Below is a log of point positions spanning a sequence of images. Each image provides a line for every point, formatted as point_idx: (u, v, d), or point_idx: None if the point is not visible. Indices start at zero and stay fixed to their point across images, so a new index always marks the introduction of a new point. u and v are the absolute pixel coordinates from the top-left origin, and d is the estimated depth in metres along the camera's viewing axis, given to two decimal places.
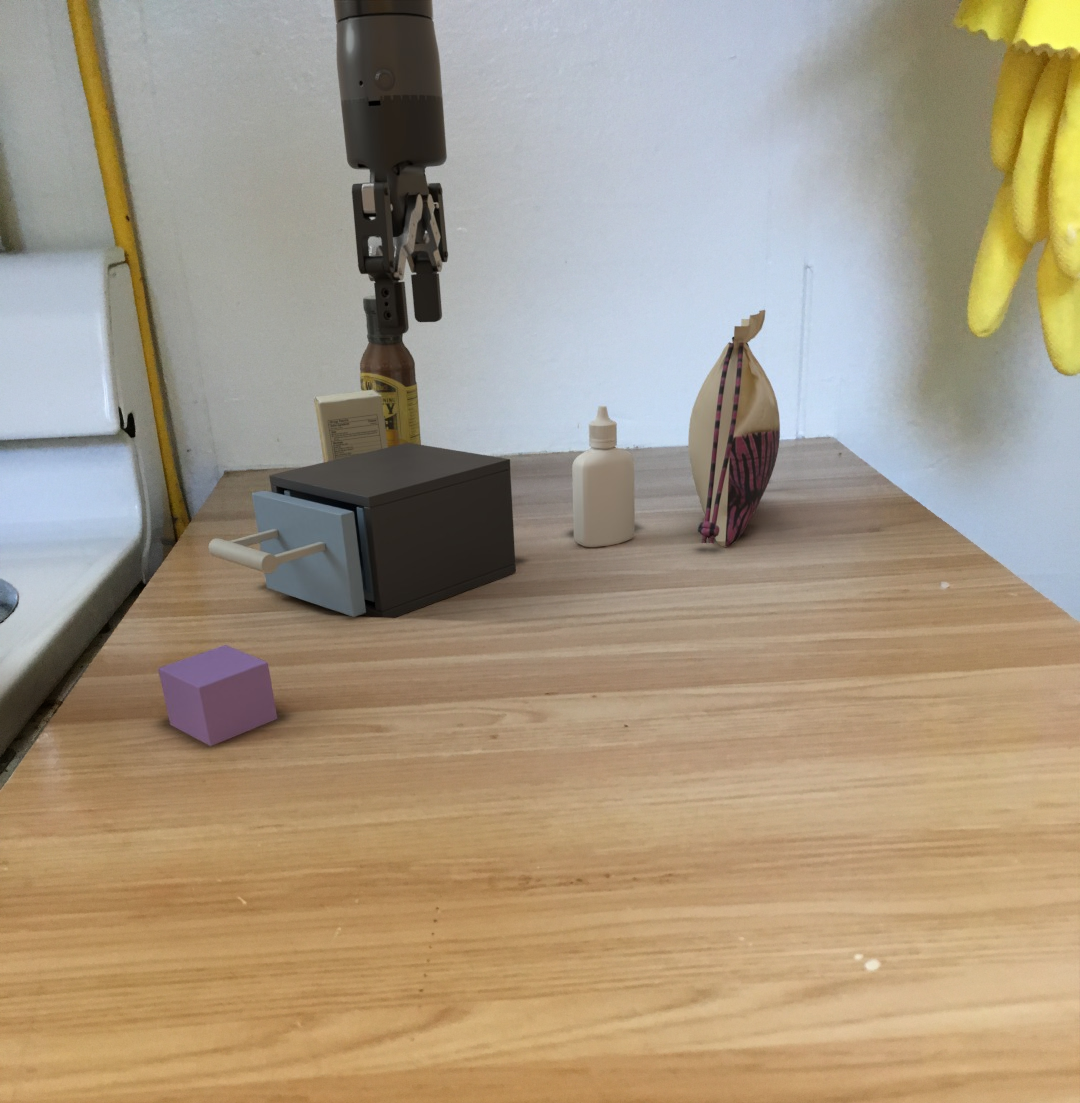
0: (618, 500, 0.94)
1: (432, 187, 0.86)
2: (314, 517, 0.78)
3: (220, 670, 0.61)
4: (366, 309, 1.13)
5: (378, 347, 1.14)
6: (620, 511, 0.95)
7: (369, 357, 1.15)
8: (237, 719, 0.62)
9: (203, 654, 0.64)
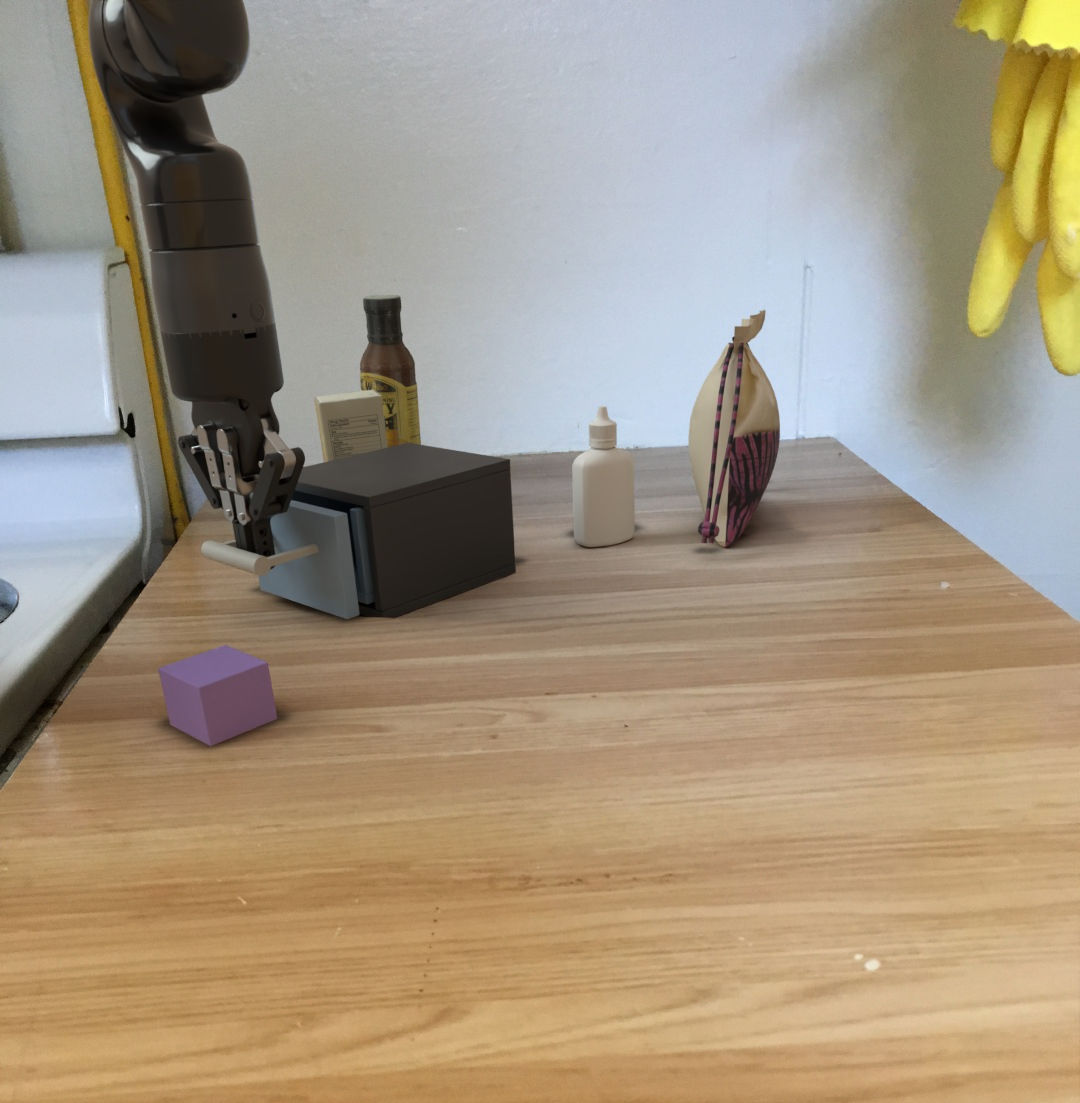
0: (618, 500, 0.94)
1: None
2: (307, 519, 0.78)
3: (220, 670, 0.61)
4: (366, 309, 1.13)
5: (378, 347, 1.14)
6: (620, 511, 0.95)
7: (369, 357, 1.15)
8: (237, 719, 0.62)
9: (203, 654, 0.64)
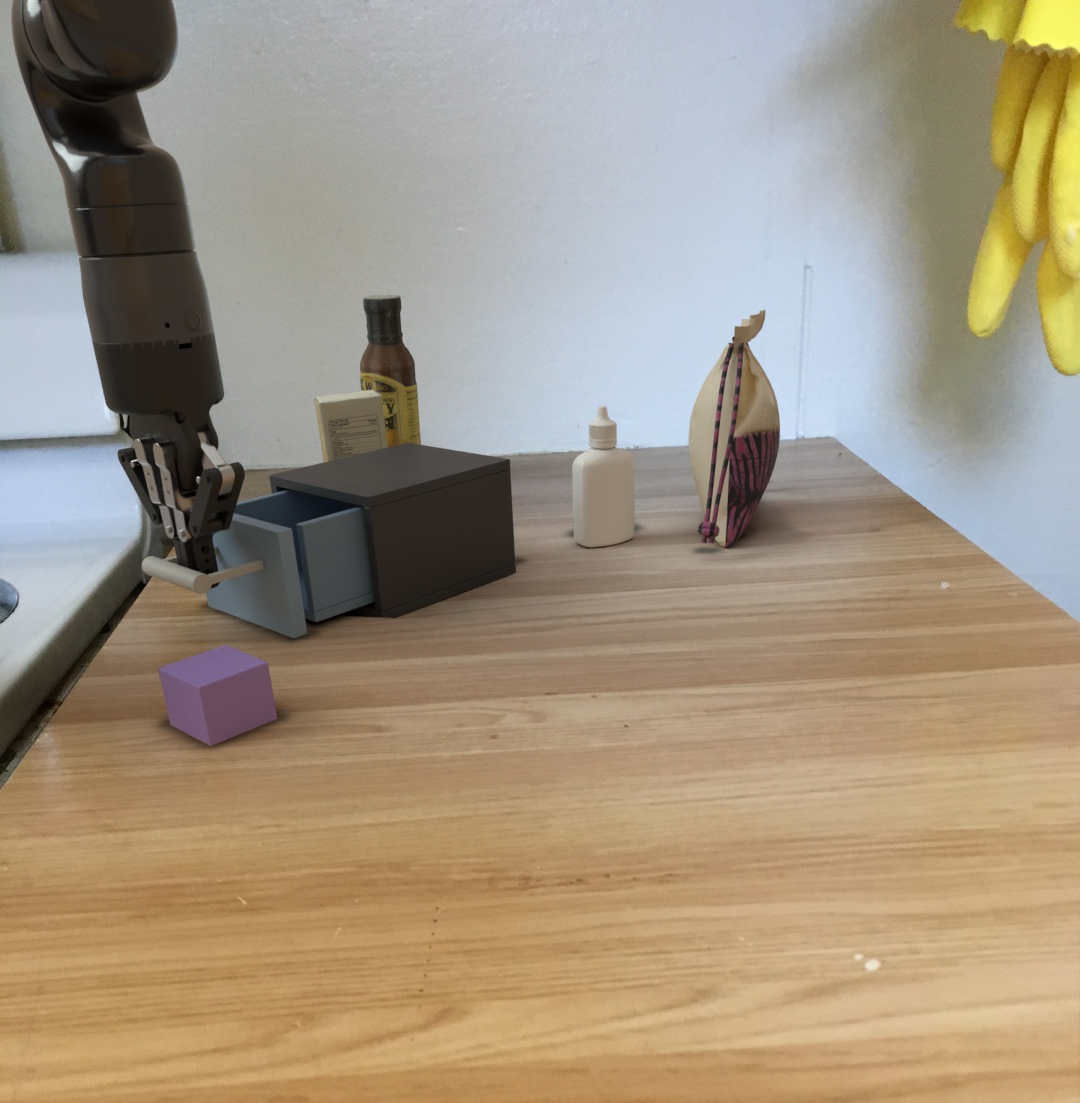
0: (618, 500, 0.94)
1: None
2: (251, 534, 0.75)
3: (220, 670, 0.61)
4: (366, 309, 1.13)
5: (378, 347, 1.14)
6: (620, 511, 0.95)
7: (369, 357, 1.15)
8: (237, 719, 0.62)
9: (203, 654, 0.64)
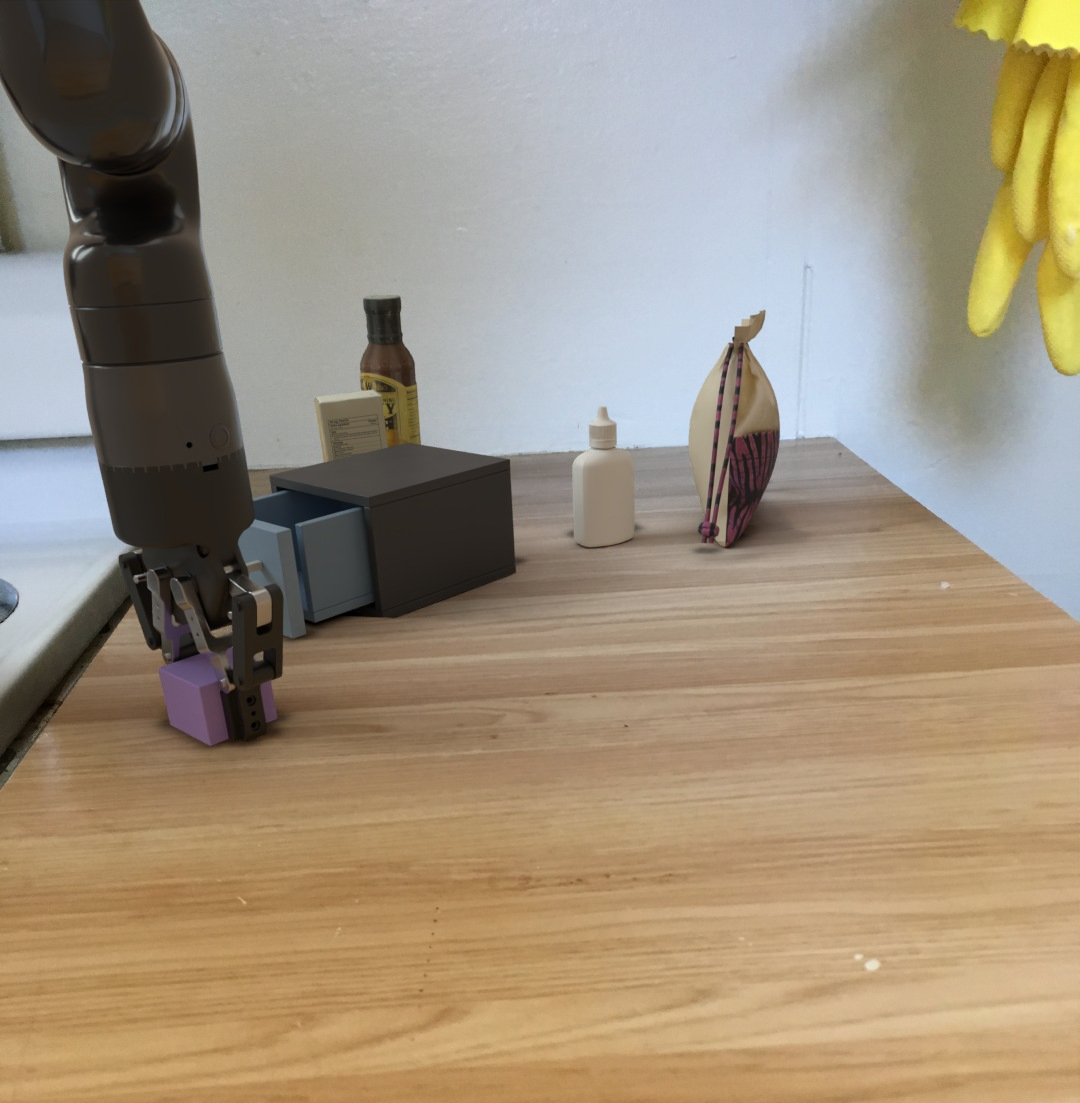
0: (618, 500, 0.94)
1: None
2: (251, 535, 0.75)
3: None
4: (366, 309, 1.13)
5: (378, 347, 1.14)
6: (620, 511, 0.95)
7: (369, 357, 1.15)
8: None
9: None
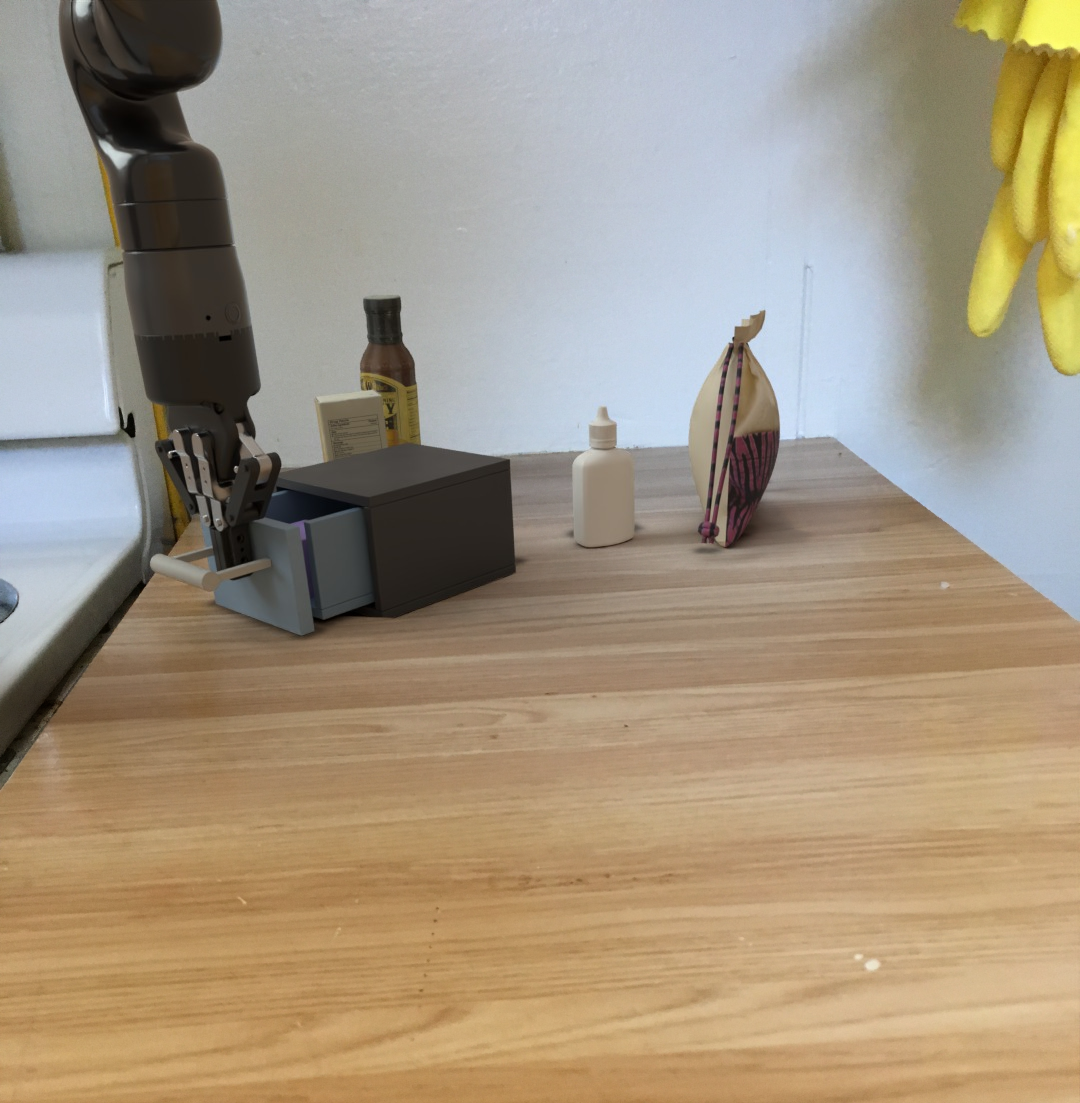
0: (618, 500, 0.94)
1: None
2: (259, 532, 0.75)
3: None
4: (366, 309, 1.13)
5: (378, 347, 1.14)
6: (620, 511, 0.95)
7: (369, 357, 1.15)
8: None
9: None
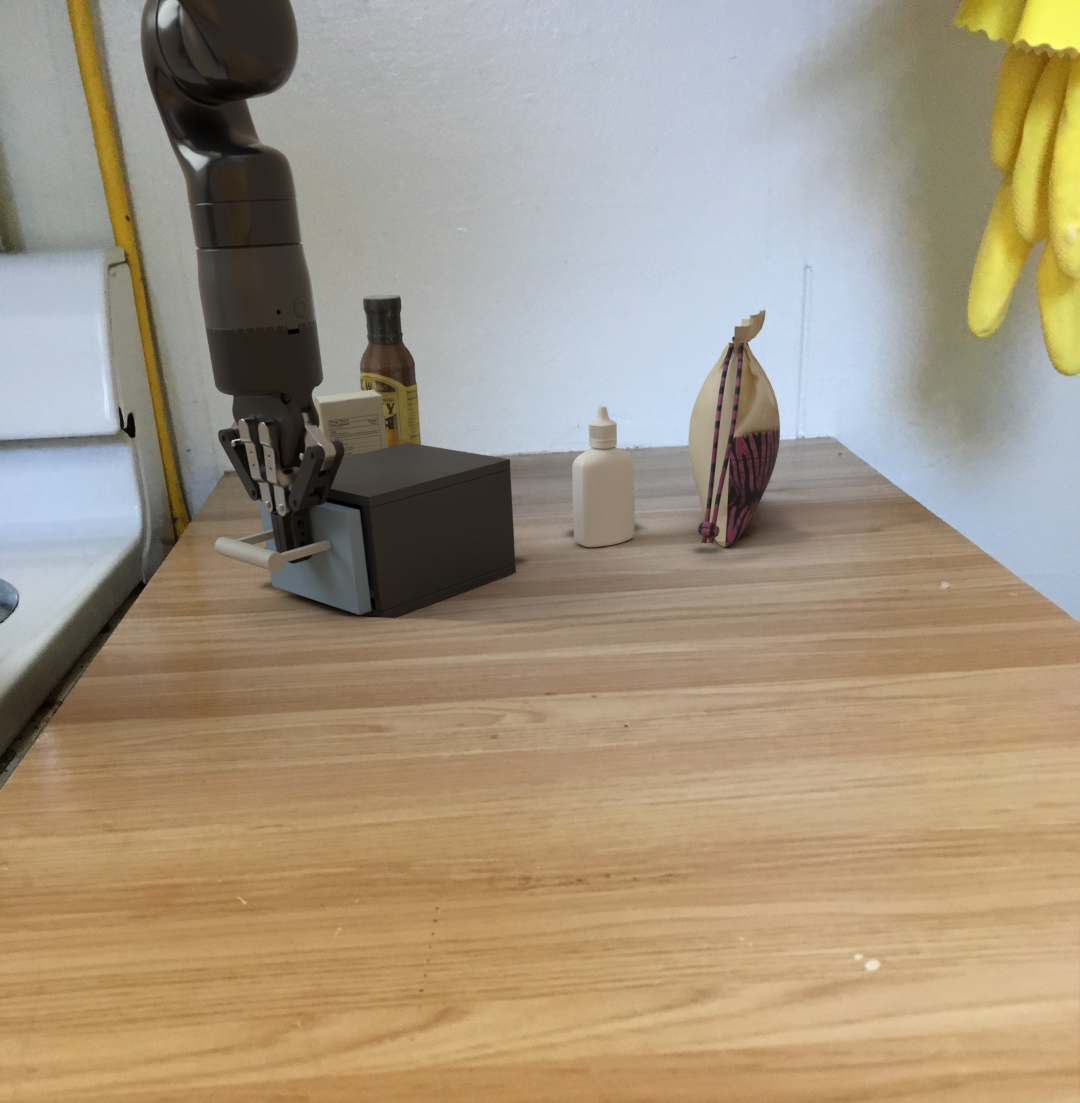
0: (618, 500, 0.94)
1: None
2: (320, 516, 0.78)
3: None
4: (366, 309, 1.13)
5: (378, 347, 1.14)
6: (620, 511, 0.95)
7: (369, 357, 1.15)
8: None
9: None
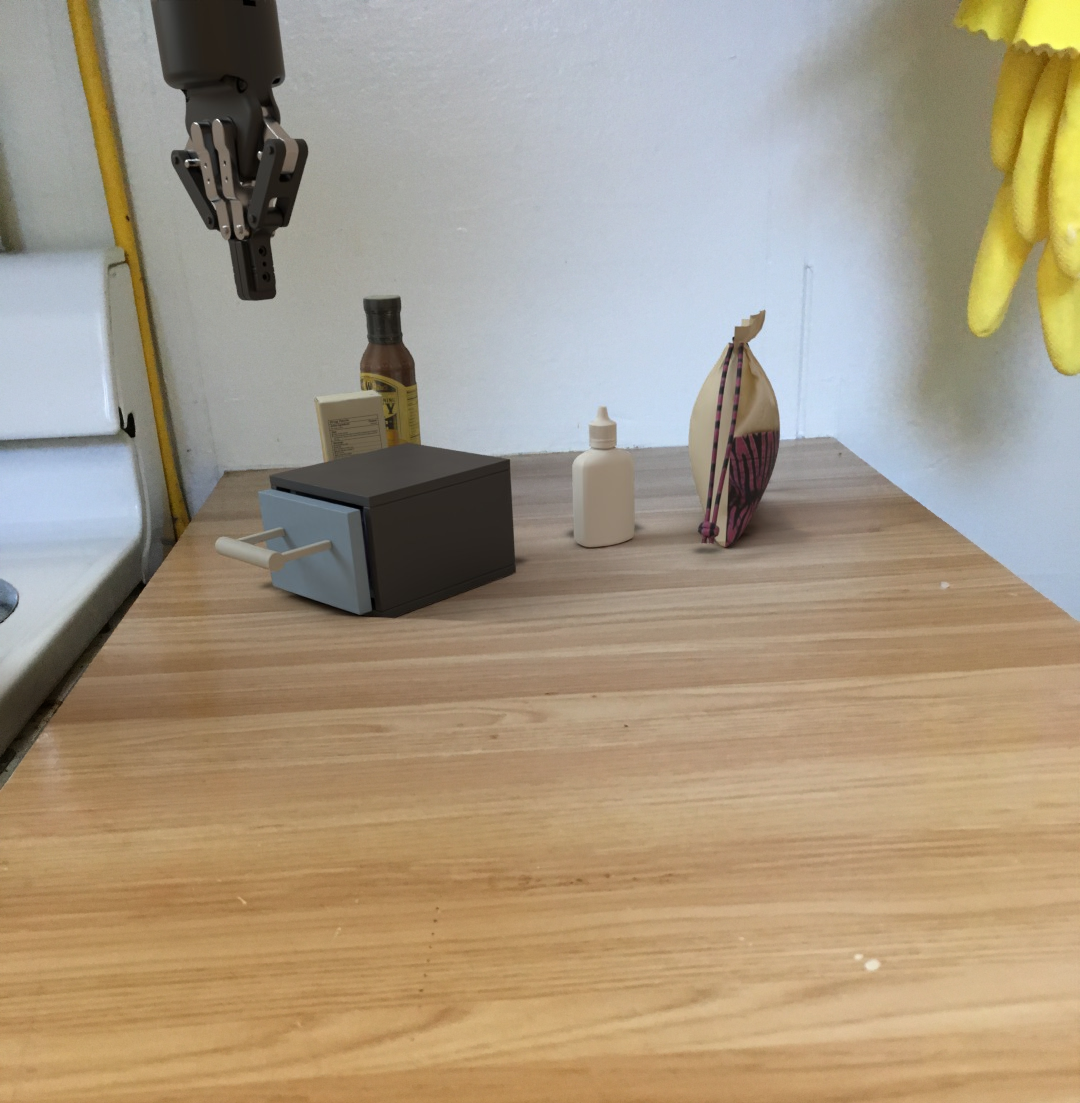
0: (618, 500, 0.94)
1: None
2: (320, 516, 0.78)
3: None
4: (366, 309, 1.13)
5: (378, 347, 1.14)
6: (620, 511, 0.95)
7: (369, 357, 1.15)
8: None
9: None
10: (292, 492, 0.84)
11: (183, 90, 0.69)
